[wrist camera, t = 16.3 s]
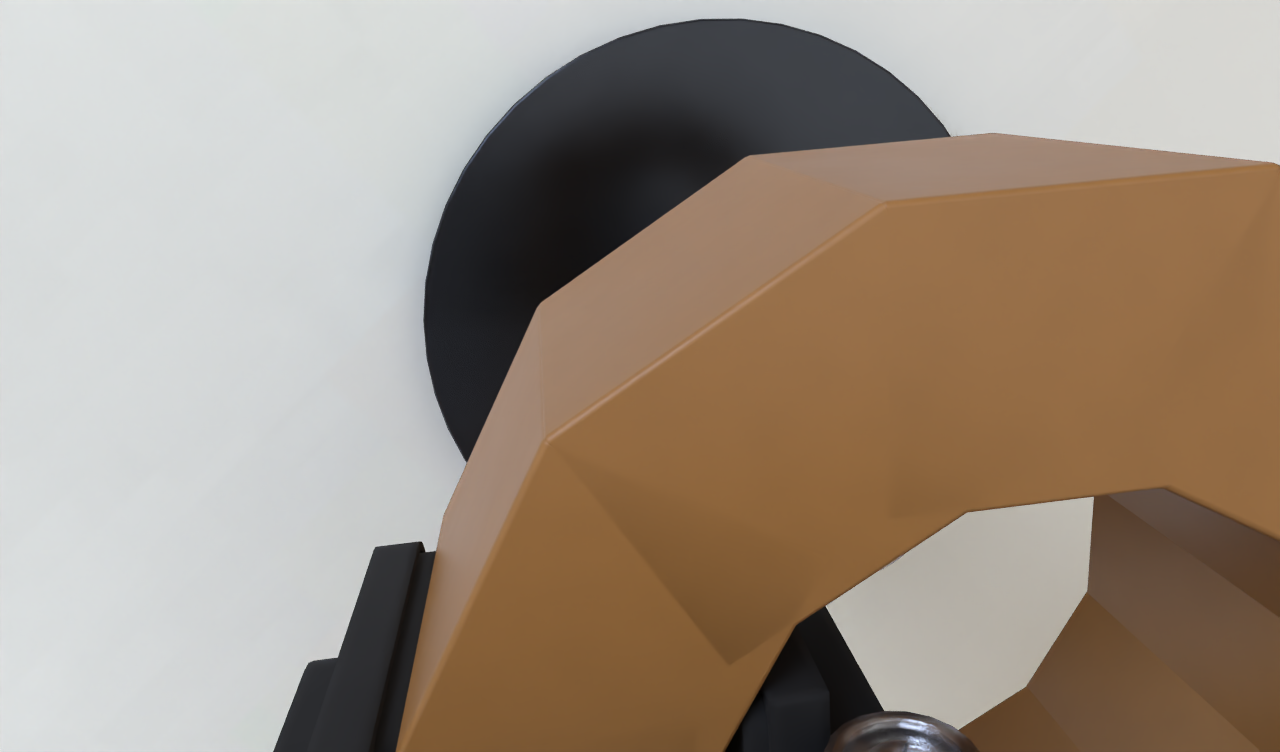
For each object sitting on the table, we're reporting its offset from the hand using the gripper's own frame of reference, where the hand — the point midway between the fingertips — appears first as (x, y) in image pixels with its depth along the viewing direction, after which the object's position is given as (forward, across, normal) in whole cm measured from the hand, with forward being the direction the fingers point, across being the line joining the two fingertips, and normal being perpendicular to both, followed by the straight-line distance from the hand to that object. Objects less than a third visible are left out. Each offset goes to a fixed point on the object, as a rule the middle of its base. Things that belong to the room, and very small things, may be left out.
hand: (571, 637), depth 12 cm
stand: (+14, -4, 0) cm, 15 cm away
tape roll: (+1, -4, 0) cm, 4 cm away
